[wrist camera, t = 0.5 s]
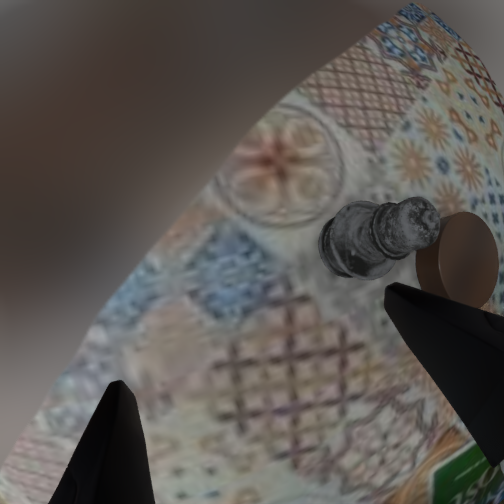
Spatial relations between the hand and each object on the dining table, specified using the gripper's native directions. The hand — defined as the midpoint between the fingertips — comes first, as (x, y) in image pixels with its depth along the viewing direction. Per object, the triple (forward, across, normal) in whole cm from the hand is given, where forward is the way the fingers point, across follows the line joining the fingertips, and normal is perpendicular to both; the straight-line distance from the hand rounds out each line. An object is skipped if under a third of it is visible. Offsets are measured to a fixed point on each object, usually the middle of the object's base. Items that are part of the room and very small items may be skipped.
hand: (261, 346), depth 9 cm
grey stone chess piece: (+13, -10, +7) cm, 18 cm away
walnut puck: (+10, -21, +11) cm, 26 cm away
